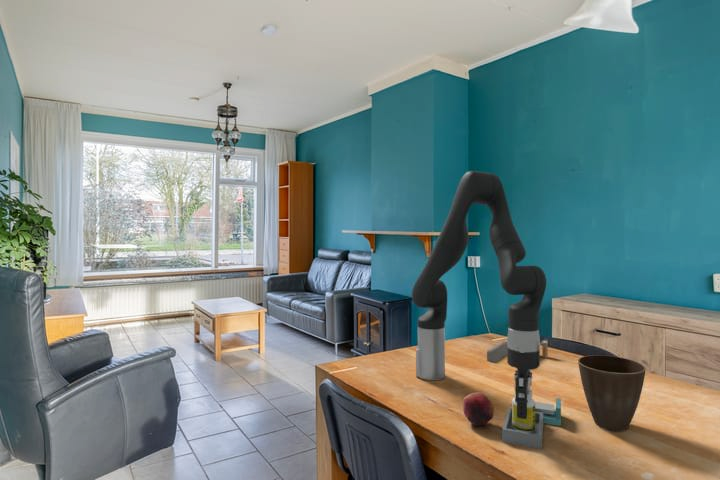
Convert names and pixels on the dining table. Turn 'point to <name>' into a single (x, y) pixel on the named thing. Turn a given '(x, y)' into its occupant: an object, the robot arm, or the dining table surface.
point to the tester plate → (544, 408)
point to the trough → (521, 436)
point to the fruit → (478, 408)
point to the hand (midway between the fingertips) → (523, 411)
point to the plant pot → (611, 389)
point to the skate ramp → (501, 351)
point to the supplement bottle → (529, 422)
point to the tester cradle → (556, 417)
